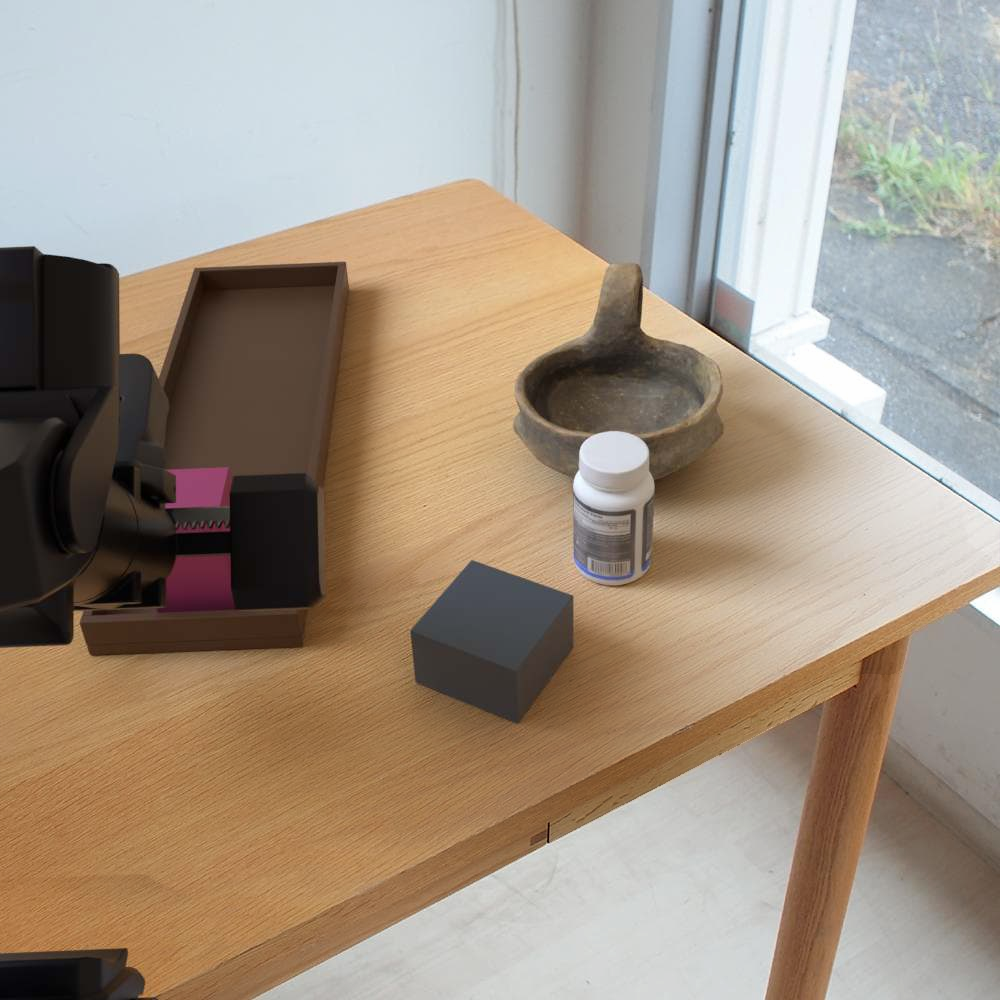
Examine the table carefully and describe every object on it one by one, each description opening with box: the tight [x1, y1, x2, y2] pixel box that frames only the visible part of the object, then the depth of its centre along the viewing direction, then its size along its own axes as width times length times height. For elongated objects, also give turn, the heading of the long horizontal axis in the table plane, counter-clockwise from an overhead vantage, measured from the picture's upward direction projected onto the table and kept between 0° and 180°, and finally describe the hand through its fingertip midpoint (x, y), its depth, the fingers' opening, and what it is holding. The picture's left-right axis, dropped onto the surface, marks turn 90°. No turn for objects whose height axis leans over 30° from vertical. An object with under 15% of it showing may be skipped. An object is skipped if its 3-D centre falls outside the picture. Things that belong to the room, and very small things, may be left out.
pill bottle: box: [572, 431, 656, 586], centre depth 78 cm, size 5×5×8 cm
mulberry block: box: [156, 467, 235, 613], centre depth 76 cm, size 5×5×8 cm
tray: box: [79, 261, 350, 656], centre depth 91 cm, size 41×12×3 cm, turn 1°
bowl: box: [512, 262, 725, 481], centre depth 87 cm, size 14×18×10 cm
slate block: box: [409, 559, 574, 724], centre depth 73 cm, size 6×6×4 cm
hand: (166, 562), depth 69 cm, fingers open, 9 cm apart
